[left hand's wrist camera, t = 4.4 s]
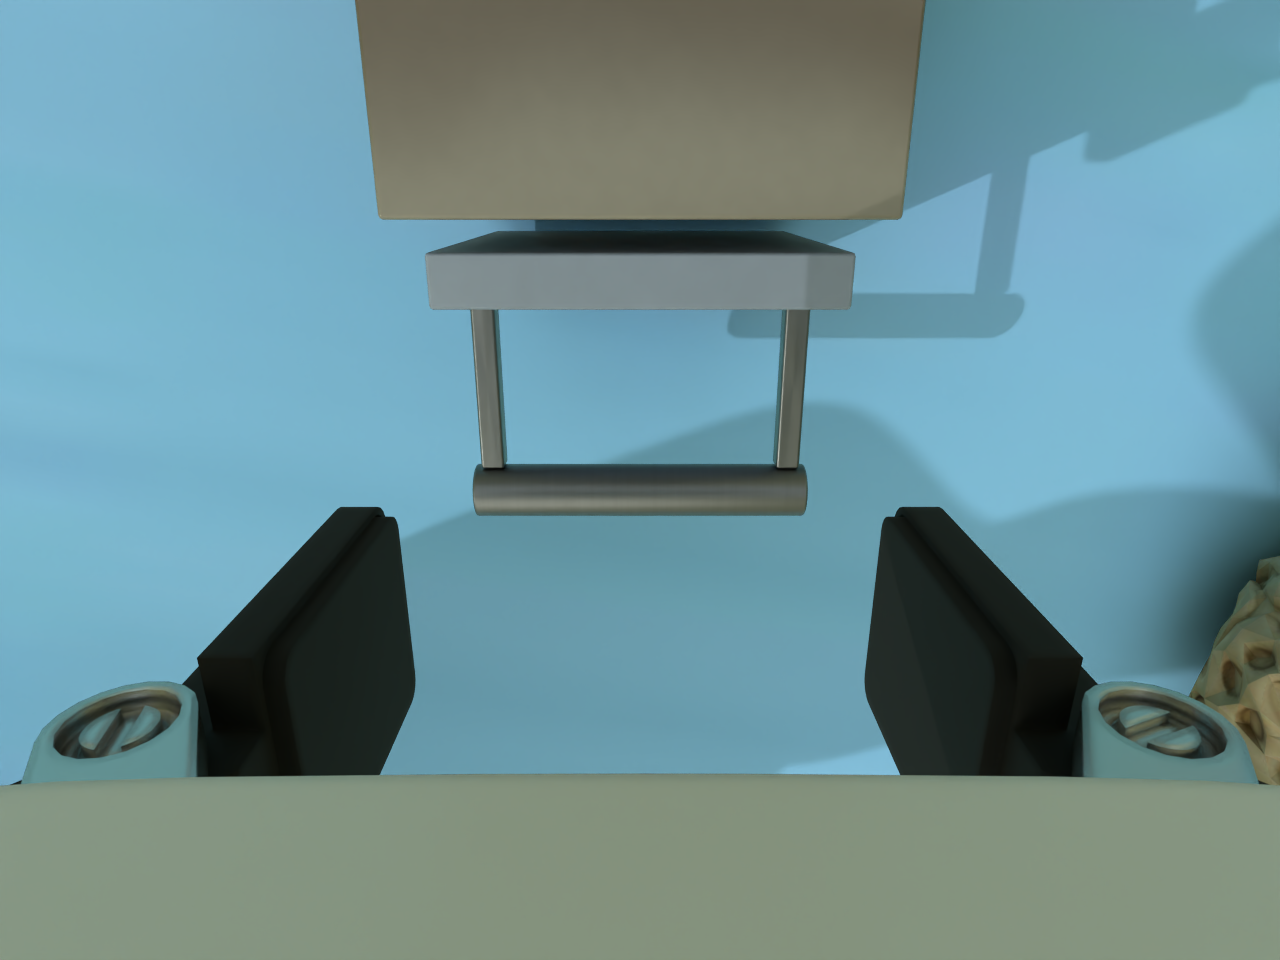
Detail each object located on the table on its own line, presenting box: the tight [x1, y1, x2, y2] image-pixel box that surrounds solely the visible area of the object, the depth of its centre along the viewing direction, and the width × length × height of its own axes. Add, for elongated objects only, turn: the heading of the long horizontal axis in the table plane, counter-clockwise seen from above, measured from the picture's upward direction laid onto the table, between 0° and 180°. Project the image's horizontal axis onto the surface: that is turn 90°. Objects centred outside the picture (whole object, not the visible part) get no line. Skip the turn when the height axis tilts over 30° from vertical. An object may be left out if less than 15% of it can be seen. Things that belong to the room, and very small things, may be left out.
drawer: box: [425, 231, 856, 516], centre depth 19 cm, size 24×9×9 cm, turn 0°
